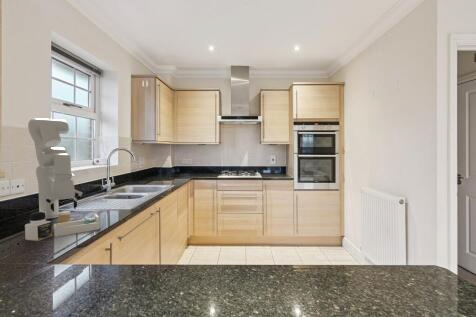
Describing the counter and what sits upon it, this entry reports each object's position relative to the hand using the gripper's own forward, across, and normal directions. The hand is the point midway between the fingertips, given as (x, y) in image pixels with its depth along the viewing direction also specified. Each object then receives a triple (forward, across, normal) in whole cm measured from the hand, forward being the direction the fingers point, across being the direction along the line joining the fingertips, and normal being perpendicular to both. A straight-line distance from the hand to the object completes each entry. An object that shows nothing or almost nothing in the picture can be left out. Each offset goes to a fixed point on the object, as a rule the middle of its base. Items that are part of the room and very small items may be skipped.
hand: (64, 209), depth 144 cm
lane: (+9, -4, +12) cm, 15 cm away
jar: (+9, 0, 0) cm, 9 cm away
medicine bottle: (+9, +11, +15) cm, 21 cm away
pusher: (+8, -10, +12) cm, 17 cm away
